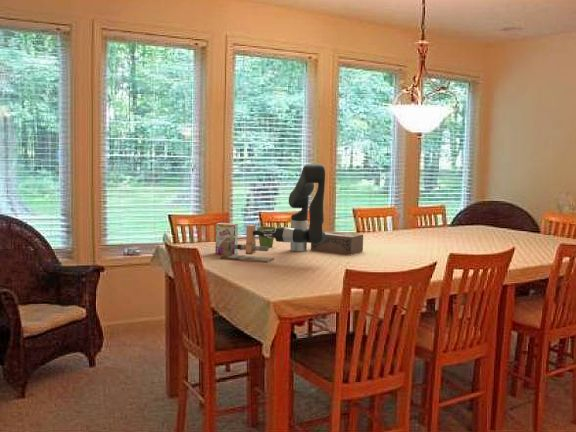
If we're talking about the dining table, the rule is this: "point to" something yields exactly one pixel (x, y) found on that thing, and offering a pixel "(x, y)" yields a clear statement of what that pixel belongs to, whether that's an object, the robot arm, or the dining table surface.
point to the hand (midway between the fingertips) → (253, 232)
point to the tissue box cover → (340, 243)
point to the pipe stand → (228, 255)
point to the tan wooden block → (250, 239)
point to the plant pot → (266, 241)
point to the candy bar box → (226, 236)
